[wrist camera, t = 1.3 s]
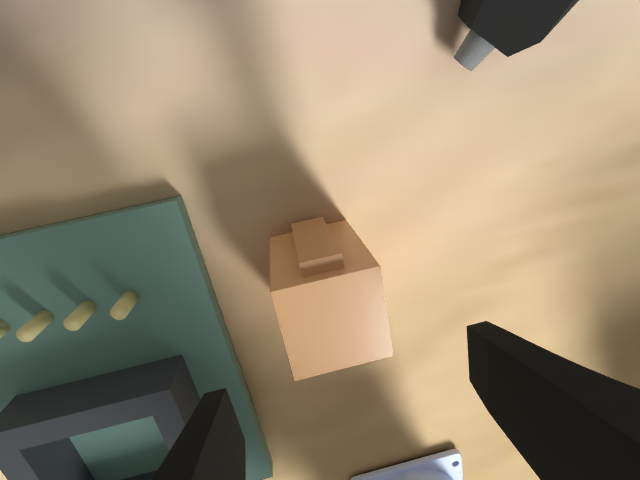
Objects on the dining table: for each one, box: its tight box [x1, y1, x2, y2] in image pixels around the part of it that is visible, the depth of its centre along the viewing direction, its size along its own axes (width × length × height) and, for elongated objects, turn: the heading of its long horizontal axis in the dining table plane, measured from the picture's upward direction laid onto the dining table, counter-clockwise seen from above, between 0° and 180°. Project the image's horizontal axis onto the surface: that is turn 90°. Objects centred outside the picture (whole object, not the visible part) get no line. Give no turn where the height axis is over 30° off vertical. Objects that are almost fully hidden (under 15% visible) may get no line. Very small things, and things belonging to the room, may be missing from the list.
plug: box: [270, 217, 393, 381], centre depth 16 cm, size 5×4×6 cm
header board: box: [0, 196, 273, 480], centre depth 18 cm, size 18×13×4 cm
